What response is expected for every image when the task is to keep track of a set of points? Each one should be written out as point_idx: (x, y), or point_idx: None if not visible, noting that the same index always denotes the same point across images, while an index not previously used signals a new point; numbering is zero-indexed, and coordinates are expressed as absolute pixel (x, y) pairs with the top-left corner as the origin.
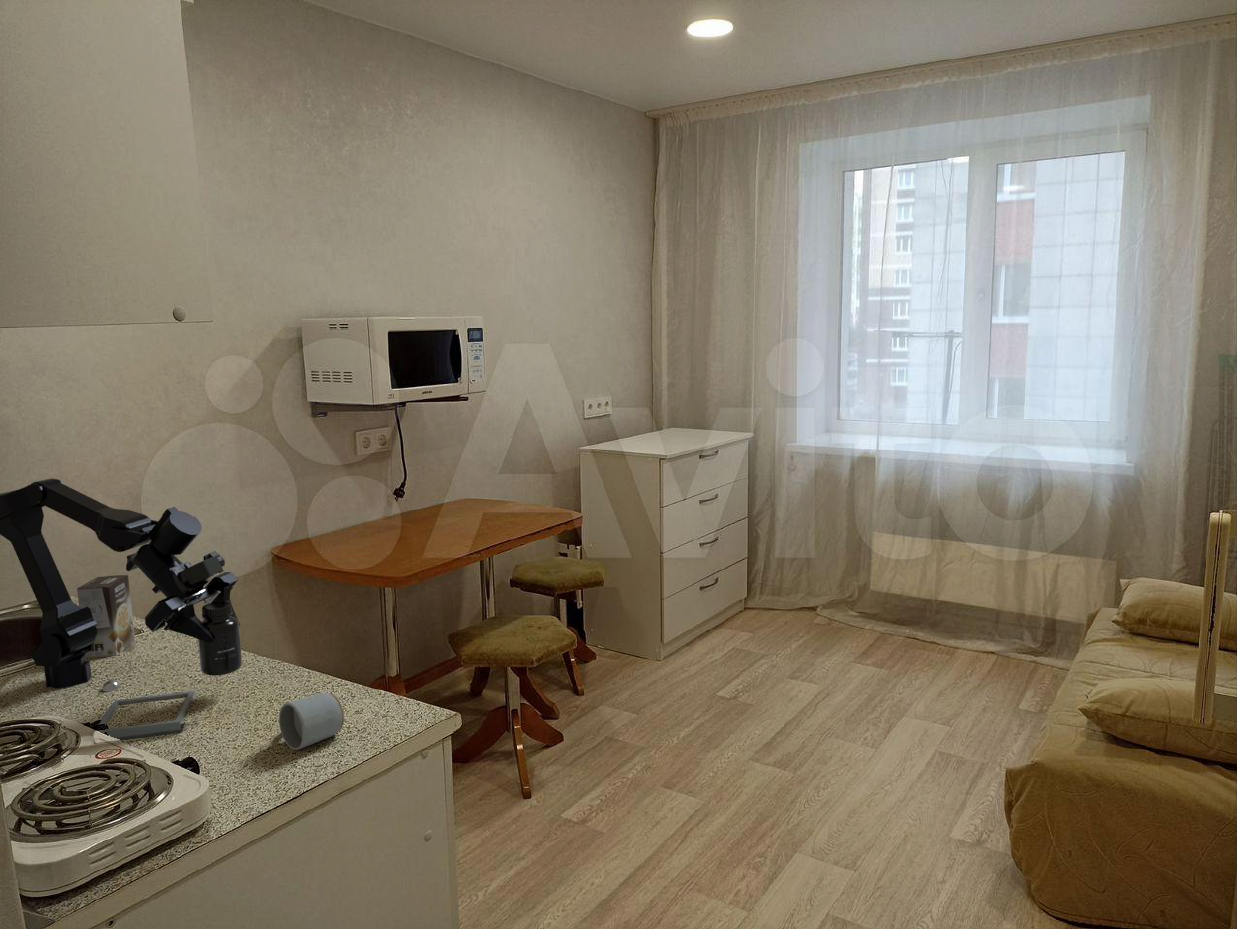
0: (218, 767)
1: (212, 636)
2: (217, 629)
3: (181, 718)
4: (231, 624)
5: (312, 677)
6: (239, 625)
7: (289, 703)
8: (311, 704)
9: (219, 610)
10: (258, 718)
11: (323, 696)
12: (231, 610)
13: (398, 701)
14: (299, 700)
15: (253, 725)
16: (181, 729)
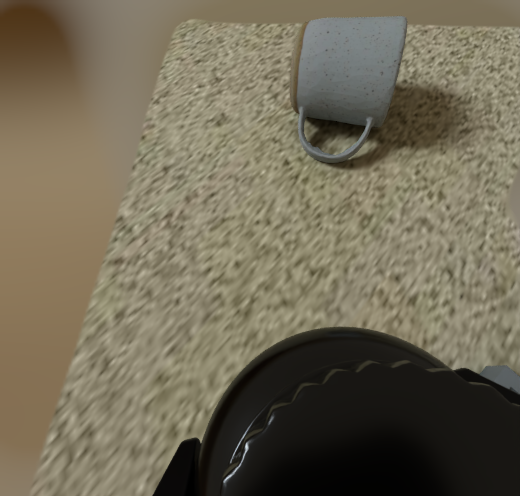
0: (504, 162)
1: (468, 381)
2: (446, 366)
3: None
4: (333, 334)
5: (99, 322)
6: (188, 439)
7: (404, 31)
8: (368, 17)
9: (487, 384)
10: (328, 258)
11: (328, 21)
12: (258, 422)
13: (161, 96)
14: (378, 30)
15: (357, 240)
16: (482, 373)
